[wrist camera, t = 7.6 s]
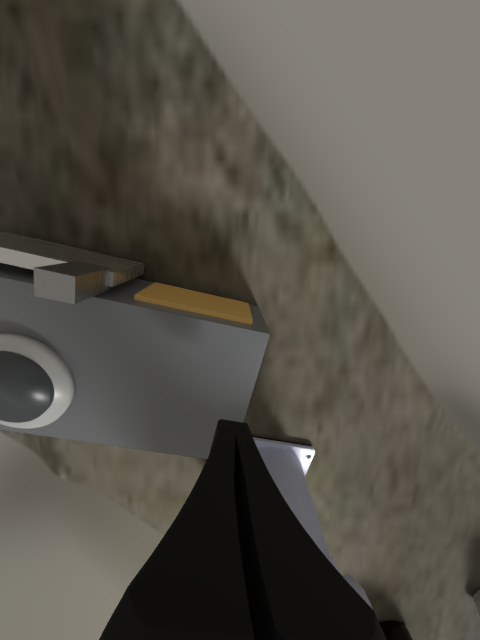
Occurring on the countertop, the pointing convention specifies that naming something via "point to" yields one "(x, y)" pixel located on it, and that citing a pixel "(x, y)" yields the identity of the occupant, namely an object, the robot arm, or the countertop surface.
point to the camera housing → (126, 364)
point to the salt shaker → (477, 600)
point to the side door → (66, 268)
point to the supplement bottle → (395, 631)
